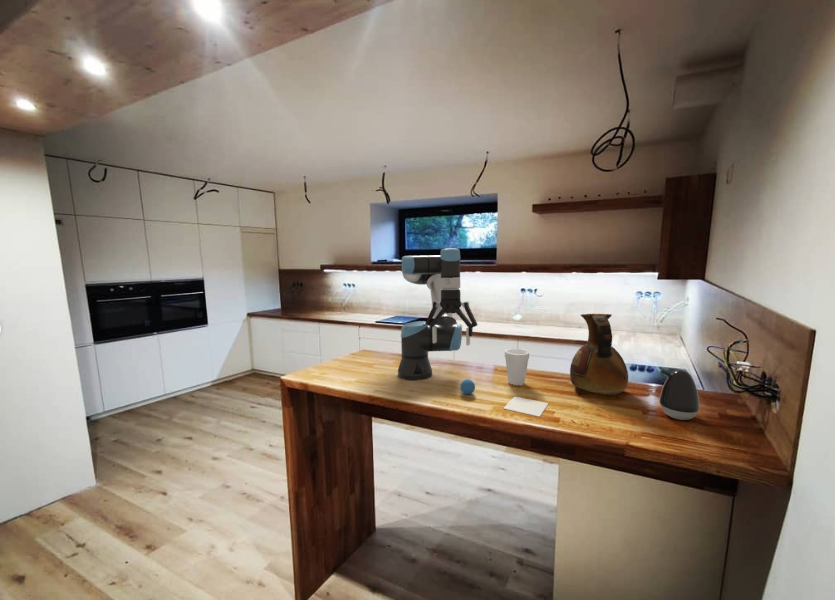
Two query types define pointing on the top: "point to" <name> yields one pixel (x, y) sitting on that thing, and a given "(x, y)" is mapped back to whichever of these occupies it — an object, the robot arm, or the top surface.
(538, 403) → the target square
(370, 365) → the top surface
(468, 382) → the ball
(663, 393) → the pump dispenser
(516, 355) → the foam cup
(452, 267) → the robot arm
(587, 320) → the ceramic pitcher
